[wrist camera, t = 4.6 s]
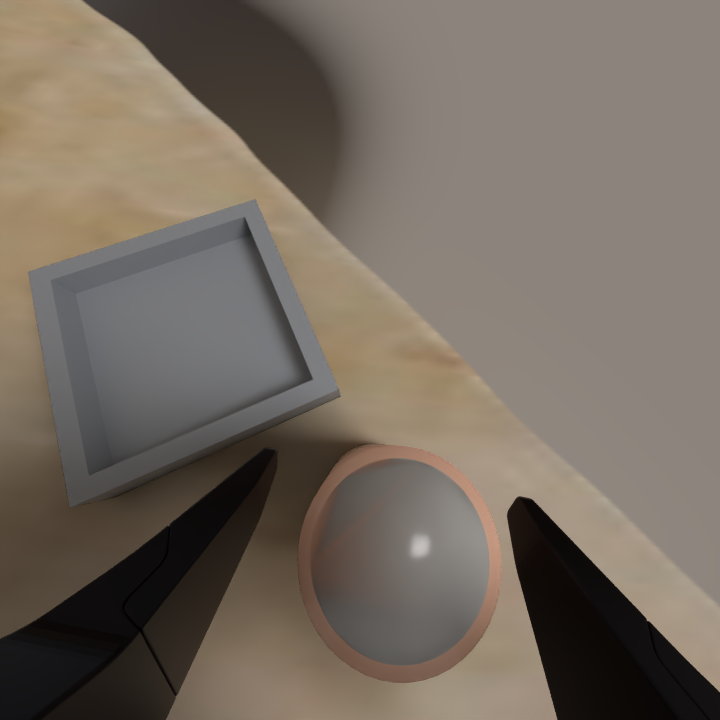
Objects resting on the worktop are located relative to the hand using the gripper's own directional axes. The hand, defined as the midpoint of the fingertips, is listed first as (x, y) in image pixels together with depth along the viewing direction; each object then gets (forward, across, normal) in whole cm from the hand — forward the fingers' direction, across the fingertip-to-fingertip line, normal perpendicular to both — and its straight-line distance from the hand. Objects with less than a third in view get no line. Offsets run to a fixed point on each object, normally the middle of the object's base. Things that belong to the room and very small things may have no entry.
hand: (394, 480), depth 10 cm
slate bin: (+8, +12, +1) cm, 14 cm away
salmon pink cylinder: (+4, 0, +6) cm, 7 cm away
